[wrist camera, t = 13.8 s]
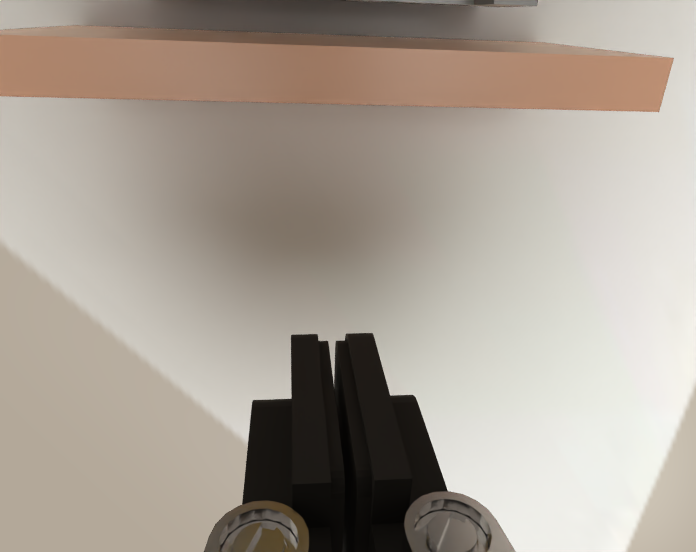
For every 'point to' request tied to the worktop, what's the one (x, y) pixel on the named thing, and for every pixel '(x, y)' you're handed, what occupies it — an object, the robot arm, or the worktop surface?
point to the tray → (326, 68)
